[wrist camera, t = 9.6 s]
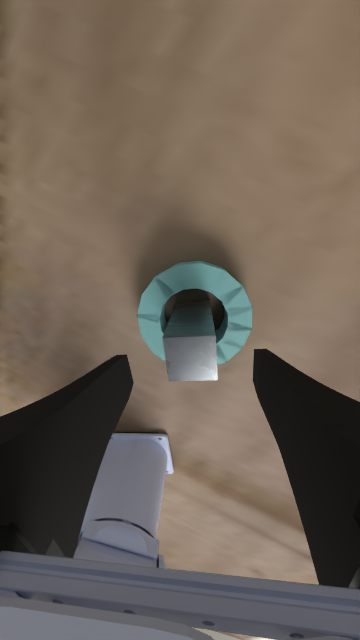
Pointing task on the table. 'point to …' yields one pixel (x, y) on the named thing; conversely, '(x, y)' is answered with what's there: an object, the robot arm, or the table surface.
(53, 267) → the table surface
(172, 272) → the teal creased ring
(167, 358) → the dark metal rectangular bar
